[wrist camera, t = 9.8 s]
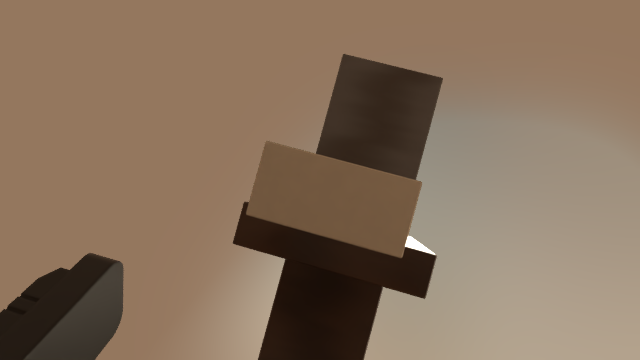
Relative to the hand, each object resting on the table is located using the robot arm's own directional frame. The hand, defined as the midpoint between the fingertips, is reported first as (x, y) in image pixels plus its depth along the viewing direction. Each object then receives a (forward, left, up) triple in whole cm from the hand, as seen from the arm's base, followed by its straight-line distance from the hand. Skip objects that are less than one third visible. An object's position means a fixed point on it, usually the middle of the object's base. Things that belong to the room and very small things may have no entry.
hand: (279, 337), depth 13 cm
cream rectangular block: (0, +14, +2) cm, 14 cm away
